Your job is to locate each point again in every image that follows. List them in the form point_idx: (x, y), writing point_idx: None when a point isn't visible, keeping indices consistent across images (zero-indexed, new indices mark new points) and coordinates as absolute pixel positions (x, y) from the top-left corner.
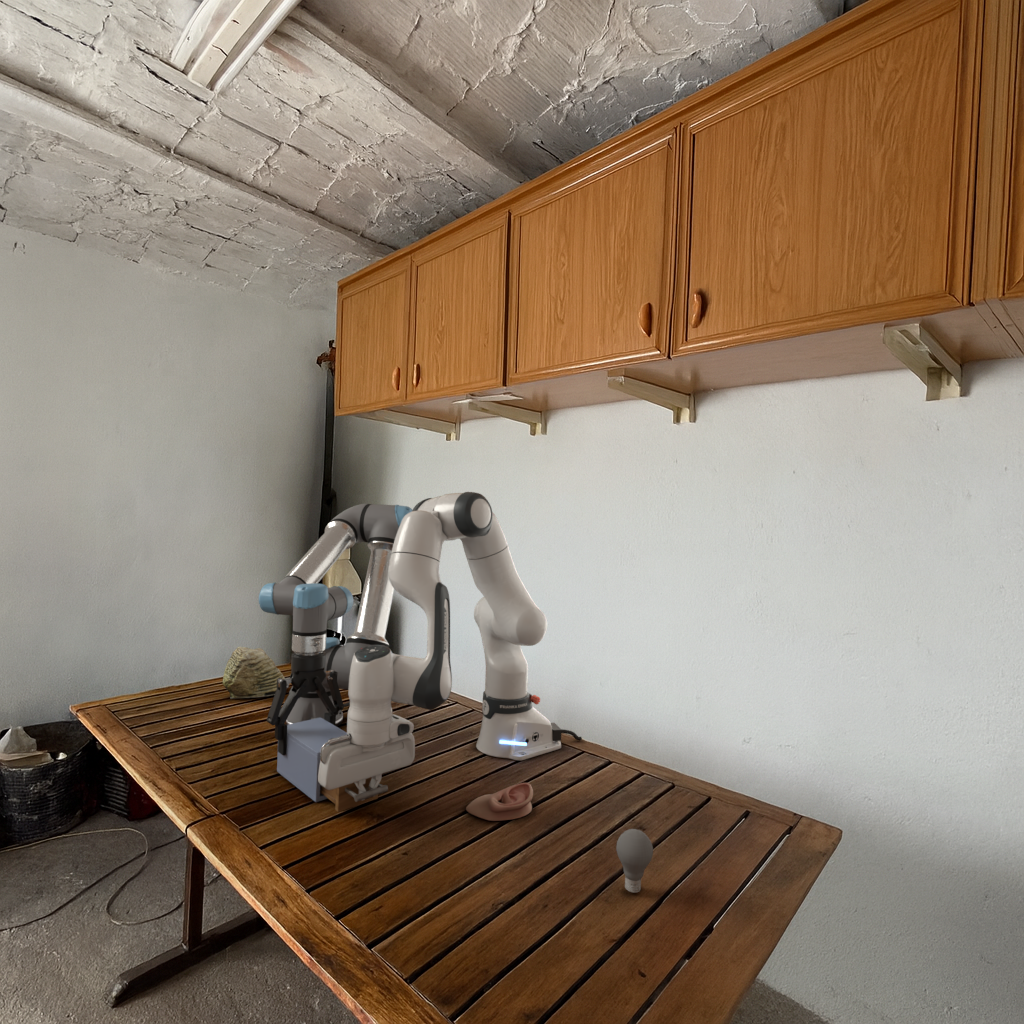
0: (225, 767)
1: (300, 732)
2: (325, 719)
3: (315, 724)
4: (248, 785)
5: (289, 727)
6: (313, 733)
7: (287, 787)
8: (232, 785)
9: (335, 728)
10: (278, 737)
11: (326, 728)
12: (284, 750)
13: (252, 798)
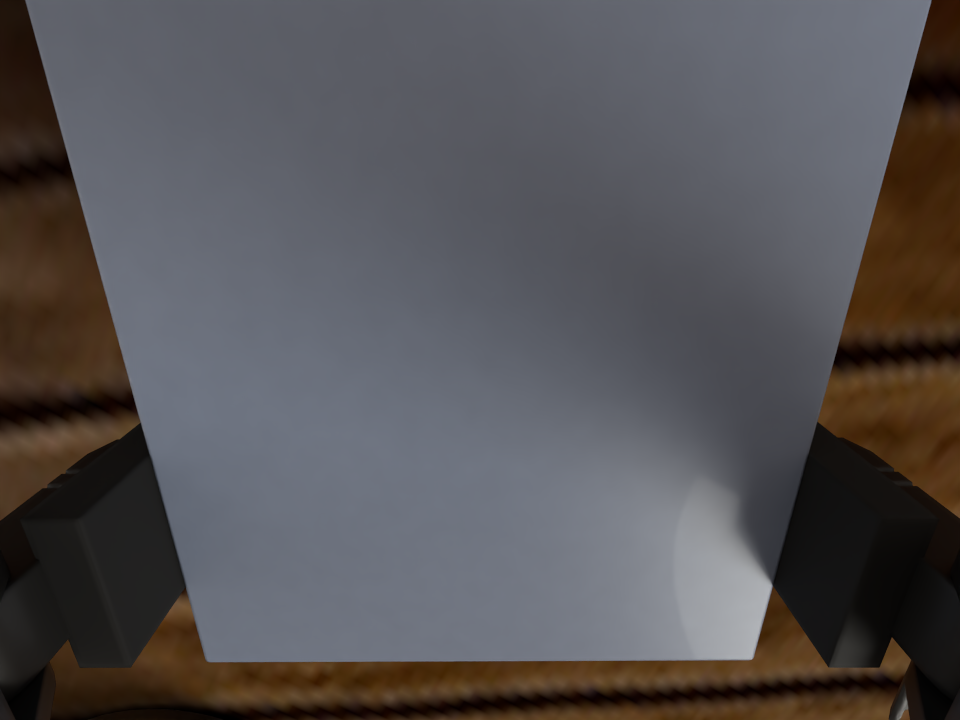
0: (778, 597)
1: (679, 348)
2: (171, 565)
3: (355, 496)
4: None
5: (677, 581)
6: (551, 179)
7: None
8: (892, 391)
9: (130, 168)
10: (863, 457)
11: (272, 260)
12: None
13: (939, 146)
